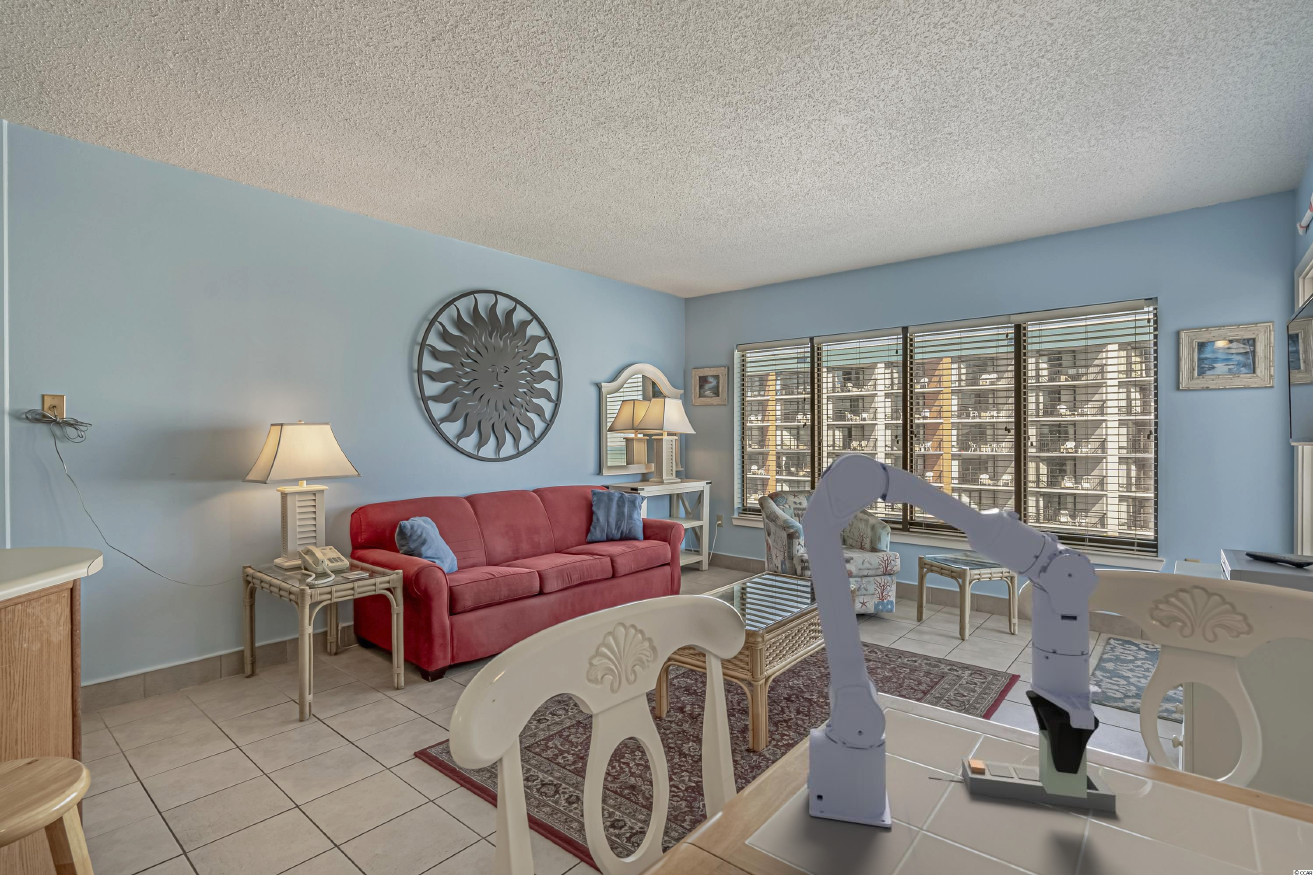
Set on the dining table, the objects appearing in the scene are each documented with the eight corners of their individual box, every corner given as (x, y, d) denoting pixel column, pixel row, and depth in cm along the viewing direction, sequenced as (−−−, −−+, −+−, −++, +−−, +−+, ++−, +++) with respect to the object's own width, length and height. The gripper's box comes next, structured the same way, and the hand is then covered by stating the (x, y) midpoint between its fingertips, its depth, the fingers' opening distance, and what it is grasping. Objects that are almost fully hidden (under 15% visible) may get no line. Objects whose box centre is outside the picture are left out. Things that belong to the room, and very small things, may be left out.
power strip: (931, 795, 82) (931, 767, 82) (926, 775, 87) (925, 748, 87) (1115, 819, 76) (1115, 789, 76) (1099, 797, 81) (1098, 769, 81)
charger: (1047, 792, 74) (1046, 732, 74) (1039, 779, 76) (1038, 721, 76) (1086, 797, 73) (1086, 736, 73) (1077, 784, 75) (1076, 725, 75)
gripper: (1127, 672, 66) (1128, 802, 66) (1076, 631, 80) (1077, 739, 80) (1050, 666, 68) (1051, 793, 68) (1014, 627, 82) (1014, 732, 82)
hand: (1060, 763), depth 75 cm, fingers closed on charger, 3 cm apart
